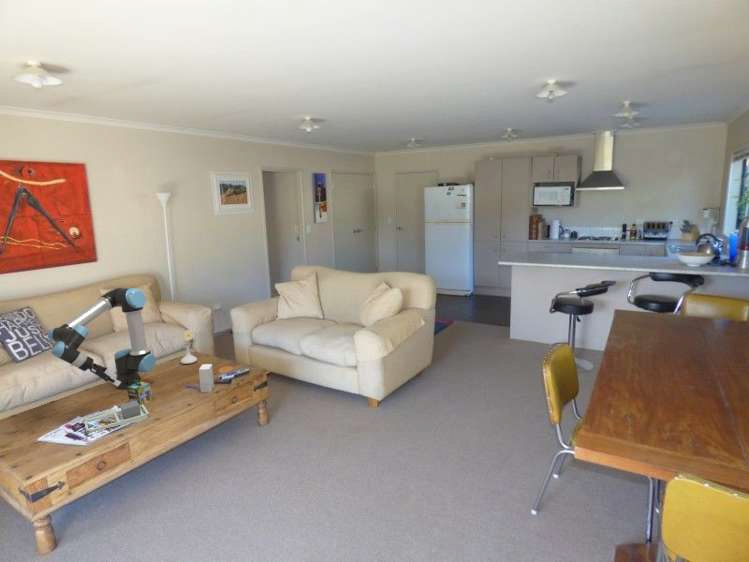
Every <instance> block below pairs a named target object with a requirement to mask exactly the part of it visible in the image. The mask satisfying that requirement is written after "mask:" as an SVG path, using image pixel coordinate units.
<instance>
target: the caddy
mask: <svg viewBox="0 0 749 562" xmlns="http://www.w3.org/2000/svg"><path fill="white" fill-rule="evenodd" d="M140 412H141V415H140V416H136V417H133V418H129V419H126V420H122V421H120V420H119V418H118V416H117V415H121V414H122V412H121V409H120V410H117V411H114V412H109V413H106V414H103V415H98V416H95V417H91V418H88V419H87V418H86V419H84V420H83V424H85V426H84V428H85V427H86V429H85V432H86V431H87V432H86V435H87V434H89V433H92V432H96V431H99V430H103V429H106V428H110V427H114V426H118V425H122V426H124V425H123V424H125V425H128V424H127V423H129V424H133V423H135V422H139V421H143V420H145V419H149V418H150V413H149V411H148V409H147V407H146V406H145V404H144V405H143V404H142V405H140ZM111 416H114V417H115V419H116V421H117V422H115V423H111V424H108V425H104V426H101V427H97V428H94V429H90V430H89V428H88V425H87V422H91V421H95V420H99V419H103V418H106V417H111ZM118 427H119V426H118Z"/></svg>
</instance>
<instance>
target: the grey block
mask: <svg viewBox="0 0 749 562" xmlns="http://www.w3.org/2000/svg"><path fill="white" fill-rule="evenodd" d="M120 410H121V412H122V417H123V419H124V420H126V419H129V418H133V417H136V416H140V415H141V412H140V405H139V403H138V402H137V400H136V401H132V402H125V403H121V404H120Z"/></svg>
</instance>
